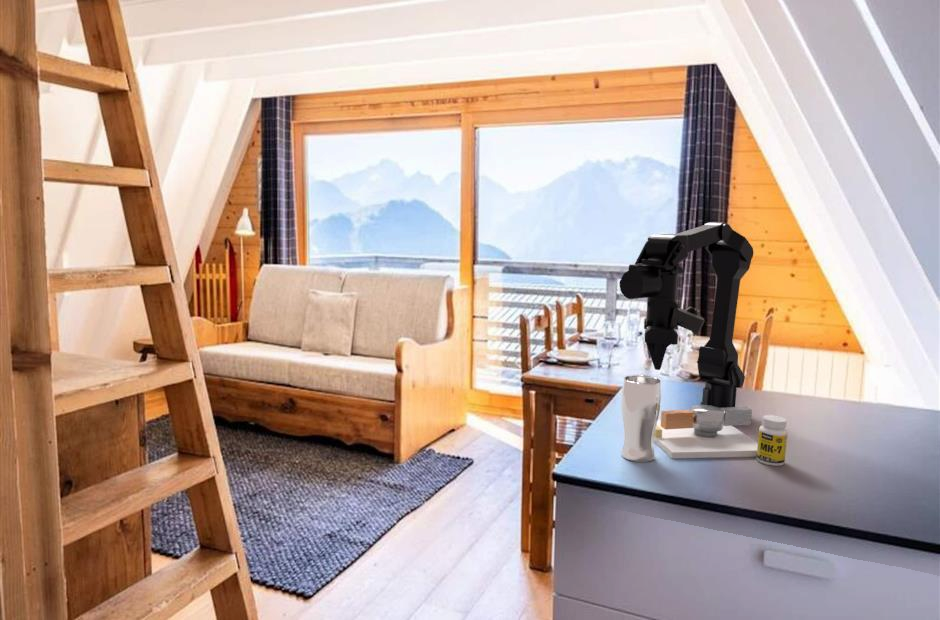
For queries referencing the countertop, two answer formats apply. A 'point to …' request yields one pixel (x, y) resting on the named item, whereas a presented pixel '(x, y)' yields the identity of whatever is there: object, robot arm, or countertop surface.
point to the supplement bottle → (772, 440)
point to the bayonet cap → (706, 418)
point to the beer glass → (640, 416)
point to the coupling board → (704, 443)
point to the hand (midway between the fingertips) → (657, 369)
